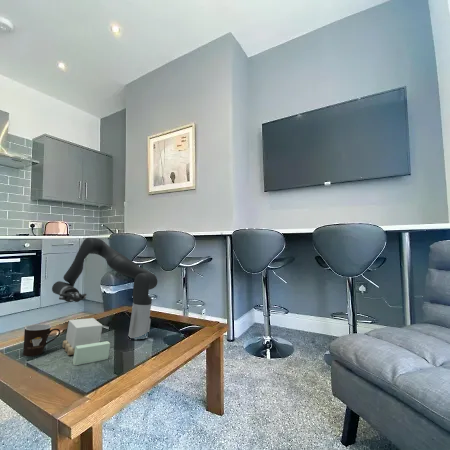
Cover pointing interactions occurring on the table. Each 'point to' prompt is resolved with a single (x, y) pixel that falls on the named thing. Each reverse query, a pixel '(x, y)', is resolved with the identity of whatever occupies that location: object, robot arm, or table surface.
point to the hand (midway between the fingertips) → (77, 299)
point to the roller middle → (67, 347)
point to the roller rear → (64, 343)
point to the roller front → (70, 351)
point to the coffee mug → (36, 339)
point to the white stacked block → (83, 332)
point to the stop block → (91, 353)
